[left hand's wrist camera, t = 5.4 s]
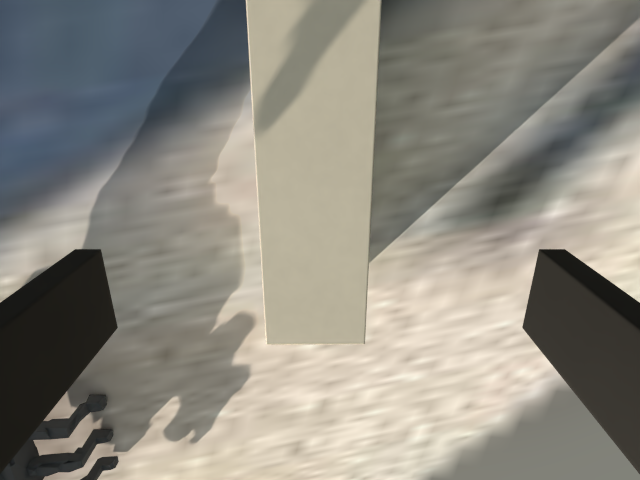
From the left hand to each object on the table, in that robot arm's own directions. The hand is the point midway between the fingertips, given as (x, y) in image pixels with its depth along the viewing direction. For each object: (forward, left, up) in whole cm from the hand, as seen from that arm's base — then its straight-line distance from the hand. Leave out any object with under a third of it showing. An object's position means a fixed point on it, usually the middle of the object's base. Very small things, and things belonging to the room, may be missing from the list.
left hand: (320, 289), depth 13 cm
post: (+2, +18, -14) cm, 23 cm away
